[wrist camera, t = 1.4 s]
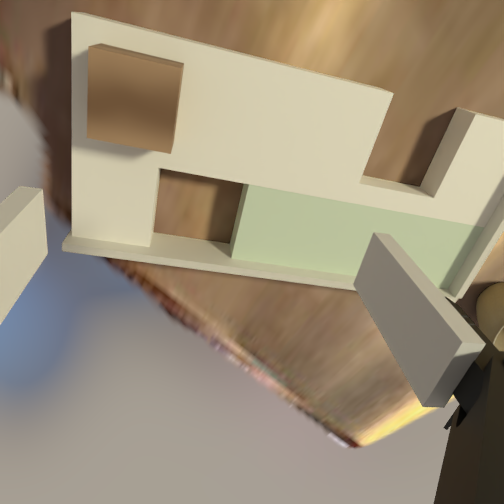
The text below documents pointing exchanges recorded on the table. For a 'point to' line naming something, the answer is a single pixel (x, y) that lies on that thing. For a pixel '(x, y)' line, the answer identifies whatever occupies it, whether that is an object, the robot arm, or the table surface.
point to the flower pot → (492, 314)
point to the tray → (281, 172)
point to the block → (132, 98)
